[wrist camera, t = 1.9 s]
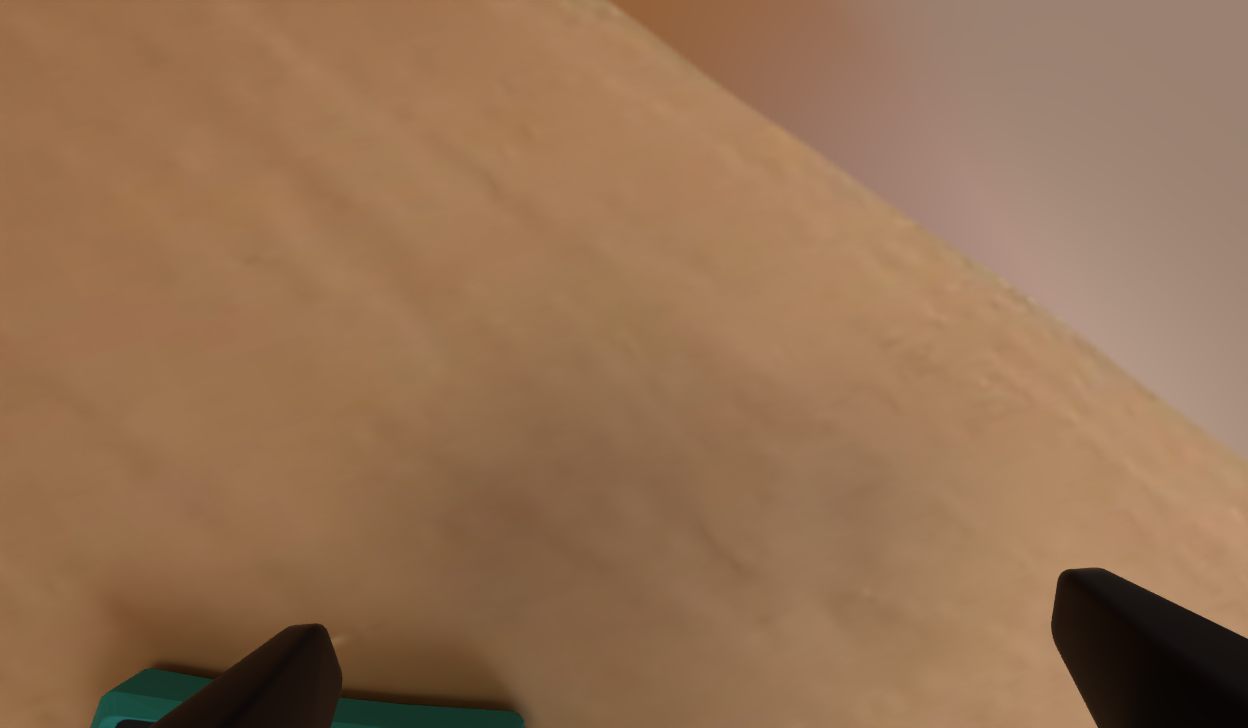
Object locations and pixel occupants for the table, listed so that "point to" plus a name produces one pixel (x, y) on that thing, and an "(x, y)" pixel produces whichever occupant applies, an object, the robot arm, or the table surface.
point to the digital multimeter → (353, 724)
